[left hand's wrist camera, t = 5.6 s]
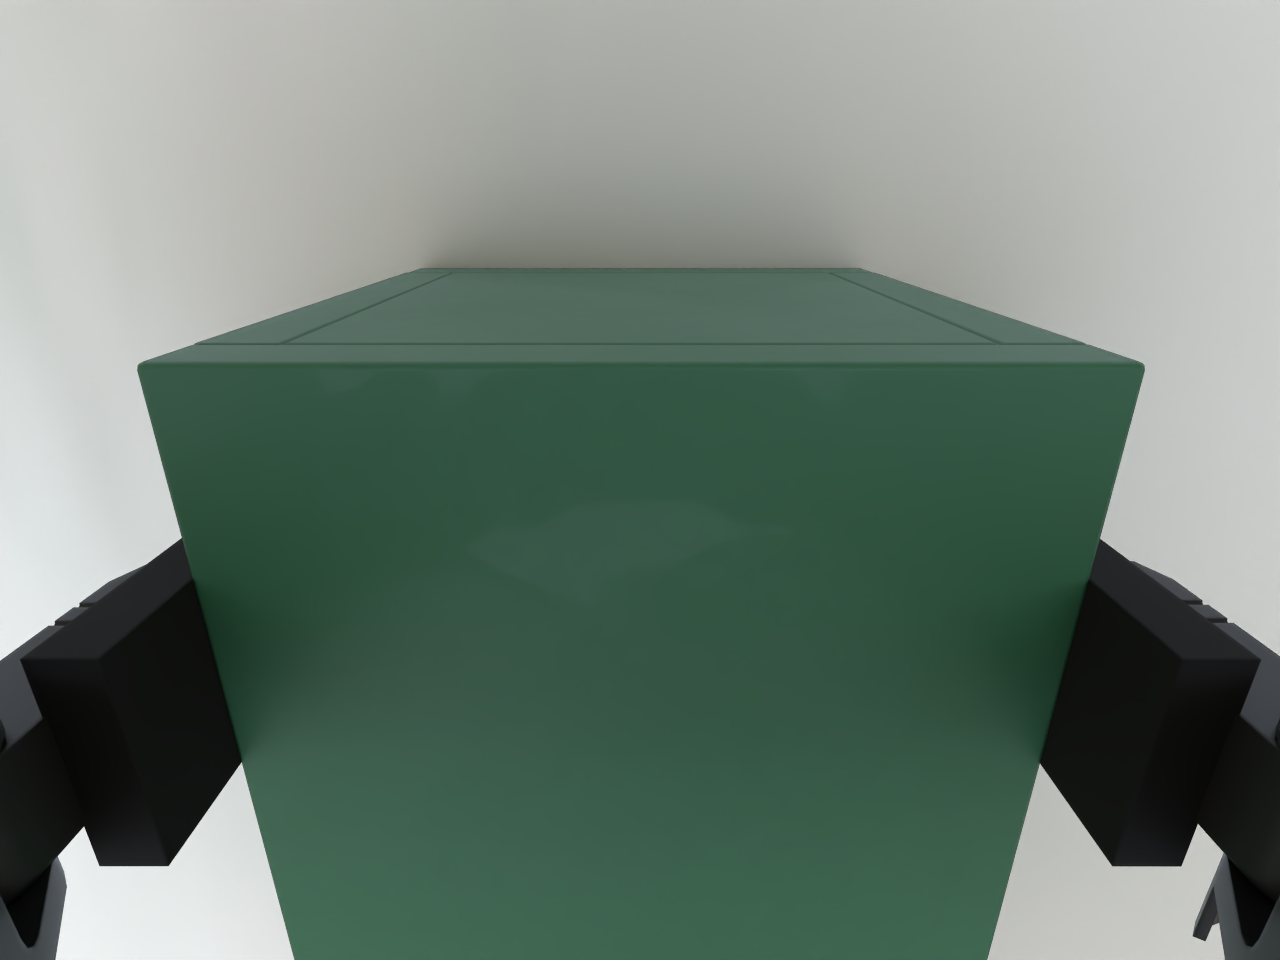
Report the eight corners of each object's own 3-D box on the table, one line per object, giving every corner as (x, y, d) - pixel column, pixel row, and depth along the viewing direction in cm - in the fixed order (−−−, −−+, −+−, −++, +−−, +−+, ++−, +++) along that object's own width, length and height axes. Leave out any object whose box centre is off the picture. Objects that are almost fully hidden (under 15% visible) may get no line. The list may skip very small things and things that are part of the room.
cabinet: (796, 870, 24) (895, 1308, 14) (485, 870, 24) (385, 1307, 14) (863, 268, 17) (1150, 362, 7) (417, 268, 17) (130, 362, 7)
